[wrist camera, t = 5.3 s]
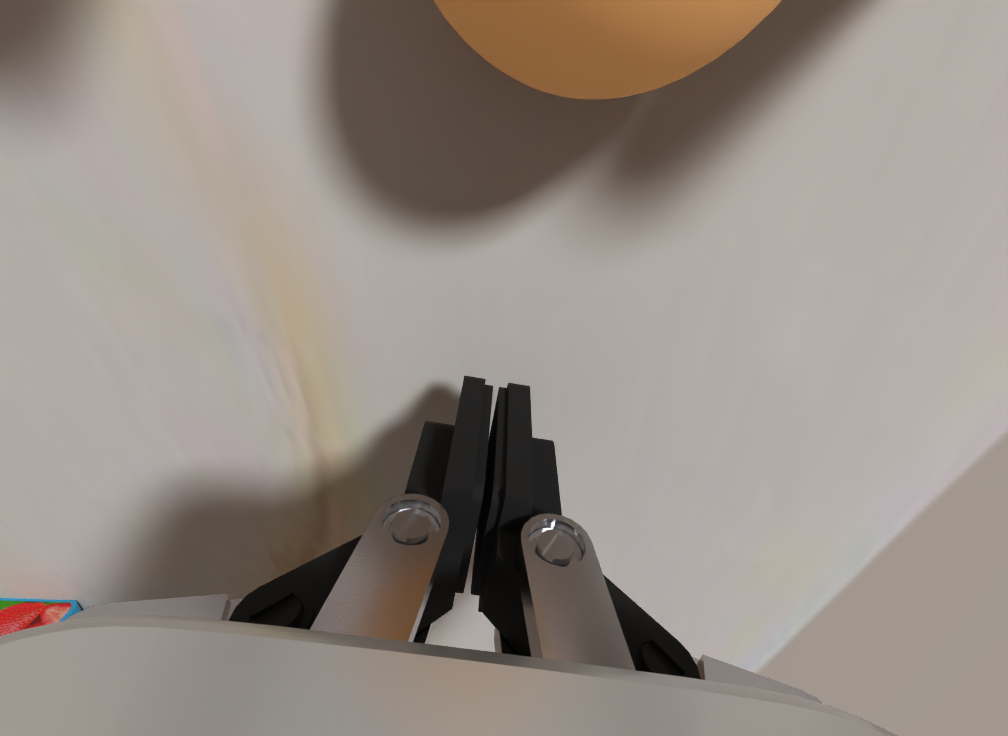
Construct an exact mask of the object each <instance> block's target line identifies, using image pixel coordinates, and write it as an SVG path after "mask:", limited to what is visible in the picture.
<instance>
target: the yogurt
mask: <svg viewBox="0 0 1008 736" xmlns="http://www.w3.org/2000/svg"><path fill="white" fill-rule="evenodd" d="M80 611H82V609H81V607H80V606H79V604H78V603H77V601H76V600H42V599H9V598H0V636H3V635H6V634H10V633H13V632H17V631H20V630H24V629H29V628H34V627H38V626H43V625H48V624H53V623H58V622H63V621H65V620H66V619H68V618H69V617H70V616H72V615H74V614H76V613H78V612H80Z"/></svg>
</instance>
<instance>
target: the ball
mask: <svg viewBox="0 0 1008 736" xmlns="http://www.w3.org/2000/svg"><path fill="white" fill-rule="evenodd" d="M781 1H782V0H434V2H435V4H436V5H437V7H438V8H439V10H440V11H441V13H442V14H443V16H444V17H445V18H446V20H447V21H448V22H449V23H450V24H451V26H452V27H453V28H454V29H455V30H456V31H457V33H458V34H459V35H460V36H461V37H462V39H463V40H464V41H465V42H466V43H467V44H468V45H469V46H470V47H471V48H472V49H474V50H475V51H476V52H477V53H478V54H479V55H481V56H482V57H483V58H484V59H485V60H486V61H488V62H489V63H490V64H491V65H493V66H494V67H495V68H497V69H498V70H500V71H502V72H503V73H505V74H507V75H508V76H510V77H512V78H514V79H516V80H517V81H519V82H521V83H523V84H525V85H527V86H530V87H532V88H534V89H537V90H540V91H543V92H546V93H549V94H553V95H557V96H562V97H567V98H575V99H614V98H622V97H628V96H632V95H636V94H640V93H644V92H648V91H652V90H655V89H658V88H661V87H663V86H665V85H668V84H670V83H672V82H675V81H677V80H680V79H682V78H684V77H686V76H688V75H690V74H691V73H693V72H695V71H696V70H698V69H700V68H702V67H703V66H705V65H707V64H708V63H710V62H712V61H713V60H715V59H717V58H718V57H719V56H721V55H722V54H723V53H725V52H726V51H727V50H729V49H730V48H731V47H733V46H734V45H735V44H737V43H738V42H739V41H741V40H742V39H743V38H744V37H745V36H746V35H747V34H748V33H750V32H751V31H752V30H753V29H754V28H755V27H756V26H757V25H758V24H759V23H760V22H761V21H762V20H763V19H764V18H765V17H766V16H767V15H769V14H770V13H771V12H772V11H773V10H774V9H775V8H776V7H777V5H778V4H779V3H780V2H781Z"/></svg>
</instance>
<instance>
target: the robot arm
mask: <svg viewBox="0 0 1008 736" xmlns="http://www.w3.org/2000/svg"><path fill="white" fill-rule="evenodd" d="M492 392H493V386H490V385H485V379H482V378H476V377H469V376H464V381H463V386H462V392H461V397H460V402H459V407H458V413H457V418H456V423H455V426H454V425H447V424H441V423H434V422H428V421H426V422H425V424H424V427H423V431H422V434H421V438H420V442H419V445H418V449H417V452H416V456H415V459H414V463H413V466H412V470H411V473H410V477H409V480H408V484H407V487H406V491H405V494H402V495H399V496H396V497H393V498H390V499H389V500H387V501H386V502H384V503H383V504H382V505H381V506H380V507H379V508H378V509H377V511H376V512H375V514H374V516H373V517H372V519H371V521H370V523H369V525H368V526H367V528H366V530H365V532H364V533H363V535H361V536H359V537H357V538H355V539H353V540H351V541H349V542H347V543H345V544H343V545H341V546H339V547H337V548H336V549H334V550H332V551H330V552H328V553H326V554H324V555H322V556H320V557H318V558H316V559H314V560H312V561H310V562H308V563H306V564H304V565H302V566H300V567H298V568H296V569H294V570H292V571H290V572H288V573H286V574H284V575H282V576H280V577H278V578H276V579H274V580H272V581H270V582H268V583H266V584H265V585H263V586H261V587H259V588H257V589H256V590H254V591H253V592H251V593H250V594H248V595H247V596H246V597H245V598H243V599H231V600H229V594H216V595H203V596H191V597H178V598H165V599H153V600H140V601H127V602H115V603H106V604H102V605H97V606H92V607H89V608H87V609H85V610H83V611H80V612H78V613H76V614H74V615H72V616H70V617H69V618H68V619H66V620H65V621H63V622H58V623H53V624H48V625H43V626H38V627H34V628H29V629H24V630H20V631H17V632H13V633H10V634H6V635H3V636H0V736H897V735H895V734H893V733H891V732H889V731H887V730H885V729H883V728H881V727H879V726H877V725H875V724H873V723H871V722H869V721H867V720H865V719H863V718H861V717H858V716H856V715H853V714H851V713H848V712H845V711H843V710H840V709H837V708H835V707H832V706H830V705H826V704H823V703H822V702H821V701H819V700H818V699H817V698H816V697H814V696H812V695H810V694H808V693H806V692H804V691H802V690H800V689H797V688H794V687H791V686H789V685H786V684H783V683H780V682H778V681H775V680H772V679H769V678H766V677H763V676H761V675H758V674H755V673H753V672H750V671H747V670H744V669H741V668H739V667H736V666H733V665H730V664H727V663H725V662H722V661H719V660H716V659H713V658H711V657H708V656H705V655H702V657H701V658H700V660H699V659H696V658H693V657H691V655H690V653H689V652H688V651H687V650H686V649H685V648H684V646H683V645H682V644H681V643H680V642H679V641H678V640H677V639H675V638H674V637H673V636H672V635H671V634H670V633H669V632H668V631H666V630H665V629H664V628H663V627H662V626H661V625H660V624H659V623H657V622H656V621H655V620H654V619H653V618H652V617H651V616H649V615H648V614H647V613H646V612H645V611H644V610H643V609H642V608H640V607H639V606H638V605H637V604H636V603H635V602H634V601H632V600H631V599H630V598H629V597H628V596H627V595H626V594H625V593H623V592H622V591H621V590H620V589H619V588H618V587H617V586H616V585H614V584H613V583H612V582H611V581H610V580H609V579H608V578H606V577H605V576H604V575H603V573H602V570H601V567H600V564H599V561H598V558H597V556H596V553H595V550H594V547H593V544H592V541H591V539H590V538H589V536H588V534H587V532H586V531H585V530H584V529H583V528H582V527H581V526H580V525H579V524H577V523H576V522H574V521H573V520H571V519H569V518H567V517H564V516H562V513H561V504H560V494H559V485H558V475H557V466H556V456H555V447H554V442H553V441H551V440H544V439H538V438H532V423H531V400H530V386H525V385H519V384H513V383H508V386H507V388H502V387H499V391H498V396H497V401H496V406H495V411H494V416H493V421H492V426H491V431H490V436H489V427H490V415H491V404H492ZM488 439H489V441H488ZM476 529H477V531H476ZM475 534H476V542H475V552H474V563H473V574H472V584H471V594H472V595H479V596H480V597H479V610H478V612H483V614H484V615H485V616H486V617H487V618H488V619H489V621H490V622H491V623H492V624H493V625H494V626H495V630H494V645H495V652H488V651H480V650H472V649H464V648H456V647H448V646H439V645H431V644H428V640H429V637H430V634H431V630H432V624H433V622H434V621H436V620H437V619H438V618H440V617H441V616H443V615H444V614H445V613H447V612H448V611H450V610H451V609H452V607H453V602H454V596H455V592H457V593H463V592H464V587H465V582H466V577H467V573H468V568H469V563H470V558H471V553H472V548H473V543H474V539H475Z"/></svg>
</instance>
